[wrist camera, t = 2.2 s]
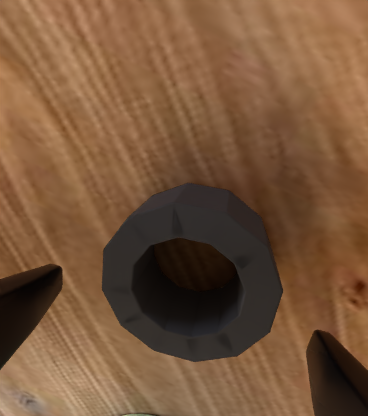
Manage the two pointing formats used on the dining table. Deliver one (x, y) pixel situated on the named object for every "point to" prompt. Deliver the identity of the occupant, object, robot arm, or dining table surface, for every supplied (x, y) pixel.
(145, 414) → the green cylinder with peg
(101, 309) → the dining table surface
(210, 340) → the rubber ring
